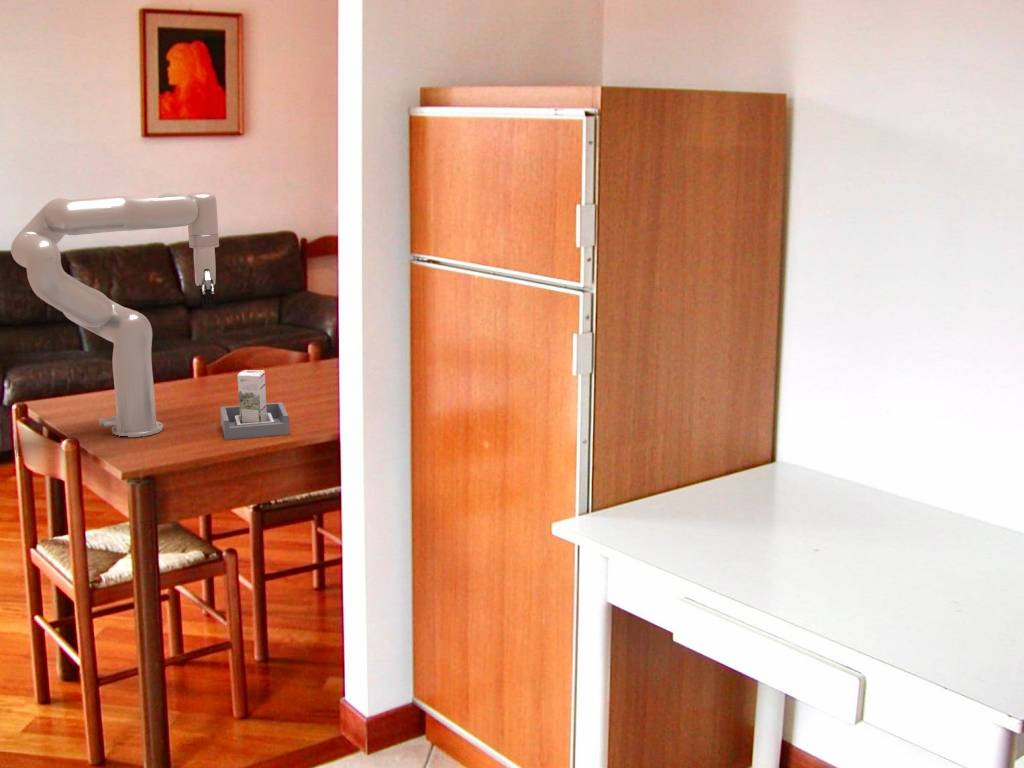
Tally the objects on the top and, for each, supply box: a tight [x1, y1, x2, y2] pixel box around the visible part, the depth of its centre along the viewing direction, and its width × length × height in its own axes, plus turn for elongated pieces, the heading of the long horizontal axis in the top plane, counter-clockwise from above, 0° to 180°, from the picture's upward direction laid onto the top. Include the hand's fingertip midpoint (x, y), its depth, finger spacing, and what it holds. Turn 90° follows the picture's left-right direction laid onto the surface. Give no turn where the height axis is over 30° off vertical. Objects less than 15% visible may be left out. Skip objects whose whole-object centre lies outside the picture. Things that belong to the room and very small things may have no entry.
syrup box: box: [237, 369, 267, 424], centre depth 303 cm, size 6×6×14 cm
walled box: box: [219, 401, 290, 441], centre depth 305 cm, size 16×14×5 cm
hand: (208, 306), depth 310 cm, fingers open, 9 cm apart
